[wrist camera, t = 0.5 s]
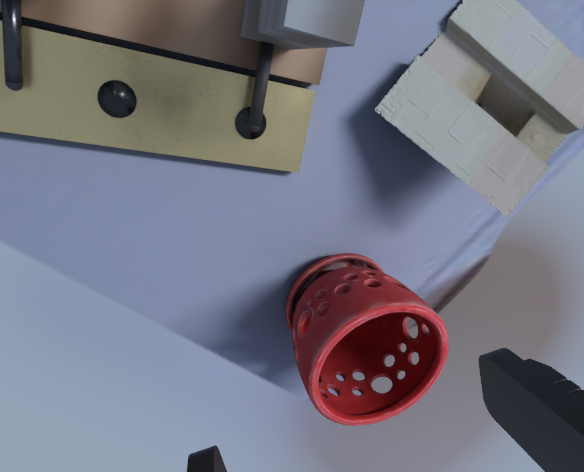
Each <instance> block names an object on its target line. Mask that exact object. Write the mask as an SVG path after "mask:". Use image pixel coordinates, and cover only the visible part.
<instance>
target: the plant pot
mask: <svg viewBox="0 0 584 472" xmlns="http://www.w3.org/2000/svg"><path fill="white" fill-rule="evenodd" d="M408 317H410V318H412V319H414V320H415V321H416V323H417V325H418V336H417V337H416V338H412V337H411V336H410V335H409V334H408V332H407V327H406V321H407V318H408ZM286 320H287V324H288V327H289V329H290V331H291V332H292V340H293V348H294V354H295V358H296V362H297V366H298V370H299V373H300V376H301V379H302V381H303V384H304V386H305V389H306V391H307V393H308V395H309V397H310V400H311V401H312V403H313V405H314V406H315V408H316V409H317V410H318V411H319V412H320V413H321V414H322V415H323V416H325V417H326V418H327V419H329V420H332V421H334V422H336V423H340V424H343V425H352V426H353V425H354V426H355V425H368V424H373V423H377V422H380V421H383V420H386V419H388V418H391V417H393V416H396V415H397V414H399V413H401V412H402V411H404V410H406V409H407V408H409V407H410V406H412V405H413V404H414V403H416V402H417V401H418V400H419V399H420V398H421V397H422V396H423V395H424V394H425V393H426V392H427V391H428V390H429V389H430V388H431V386H432V385H433V384H434V382H435V381H436V380H437V378H438V377H439V375H440V373H441V372H442V370H443V367H444V365H445V362H446V359H447V354H448V335H447V331H446V327H445V325H444V323H443V322H442V320H441V318H440V317H439V316H438V315H437V314H436V313H435V311H434V310H433V309H432V308H431V307H430V306H429V305H428V304H426V303H425V302H424V301H423V300H422V299H421V298H420V297H419V296H417V295H416V294H415V293H414V292H413V291H411V290H410V289H409V288H407V287H406V286H405V285H403V284H402V283H401V282H399V281H398V280H396V279H394V278H392V277H391V276H389V275H387V274H385V273H384V272H383V271H382V269H381V268H380V267H379V266H378V265H377V264H376V263H375V262H374V261H372V260H371V259H369V258H367V257H364V256H362V255H357V254H350V253H344V254H336V255H332V256H329V257H326V258H324V259H321V260H319V261H317V262H316V263H314V264H313V265H311V266H310V267H309V268H308V269H306V270H305V271H304V272H303V273H302V274H301V275H300V276H299V278H298V279H297V280H296V282H295V283H294V285H293V287H292V289H291V291H290V293H289V295H288V299H287V303H286ZM426 326H427V327H428V329H429V332H428V331H427V329H426ZM402 343H404V344H405V345H406V347H407V349H406V351H405V352H404V353H403V352H402V351H401V349H400V347H401V344H402ZM414 352H417V353H418V355H419V362H418V363H417V364H416V365H413V364H412V361H411V357H412V354H413V353H414ZM389 355H393V356H394V358H395V362H394V365H392V366H391V367H387V366H385V363H384V361H385V358H386V357H387V356H389ZM400 371H405V373H406V375H405V377H404V378H403V379H401V380H399V379H398V377H397V376H398V373H399V372H400ZM354 372H361V373H363V374H364V376H365V379H364V380H361V381H358V380H355V379H354V378H353V376H352V374H353V373H354ZM336 375H341V376H342V377H343V378H344V381H339V380H338V379H337V378H336ZM378 377H387V378H389V379H390V380H391V381H392V383H393V386H392V388H391V389H390V391H388V392H387V393H383V394H381V393H378V392H376V391H374V390H373V389H372V387H371V383H372V381H373V380H374V379H376V378H378ZM327 388H330V389H333V390H334V391H336V392H337V394H338V396H336V395H333V394H331V393H330V392H329V391H328V389H327ZM353 390H358V391H360V392H361V393H362V395H360V396H356V395H354V394H353V393H352V391H353Z"/></svg>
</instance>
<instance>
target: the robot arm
mask: <svg viewBox="0 0 584 472" xmlns="http://www.w3.org/2000/svg"><path fill="white" fill-rule="evenodd" d="M479 368H480V376H481V384H482V392H483V399H484V402H485V405H486V407H487V409H488V411H489V413H490V414H491V416H492V417H493V418H494V419H495V421H496V422H497V423H498V424H499V425H500V426H501V427H502V428H503V429H504V430H505V431H506V432H507V433H508V434H509V435H510V436H511V437H512V438H513V439H514V440H515V441H516V442H517V443H518V444H519V445H520V446H521V447H522V448H523V449H524V450H525V451H526V452H527V453H528V455H529V456H531V458H532V459H533V460H534V461H535V462H536V463H537V464H538V465H539V466H540V467H541V468H542V469H543V470H544V471H545V472H584V390H581V388H580V387H579V386H577V385H576V384H575V383H573V382H572V381H570V380H569V381H568V380H567V378H566V377H565V376H563V375H562V374H560V373H559V372H557V371H556V370H554V369H553V368H552V367H550V366H548V365H545V364H542V363H540V362H537V361H534V360H532V359H527V360H525V361H524V360H522V359H521V358H520V357H518V356H517V355H516V354H514V353H513V352H511V351H510V350H509V349H507V348H501V349H498V350H495V351H492V352H490V353H487V354H484V355H481V356H480V357H479ZM187 472H227V471H226V468H225V465H224V462H223V460H222V457H221V454H220V452H219V449H218V447H217V446H213V447H210V448H207V449H204V450H201V451H198V452H195V453H192V454H190V455H189V458H188V467H187Z"/></svg>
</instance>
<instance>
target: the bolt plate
mask: <svg viewBox="0 0 584 472" xmlns="http://www.w3.org/2000/svg"><path fill="white" fill-rule="evenodd" d="M22 41H23V76H24V86H23V88H22V89H21V90H19V91H13V90H11V89H9V88H8V87H7V86H6V84H5V77H4V54H3V31H2V21H1V20H0V132H7V133H14V134H22V135H29V136H36V137H43V138H51V139H58V140H65V141H72V142H80V143H87V144H94V145H101V146H109V147H116V148H123V149H130V150H138V151H145V152H152V153H159V154H166V155H174V156H181V157H188V158H195V159H203V160H210V161H217V162H224V163H232V164H239V165H246V166H253V167H261V168H268V169H275V170H282V171H290V172H297V173H298V171H299V167H300V162H301V157H302V153H303V148H304V143H305V139H306V134H307V129H308V124H309V120H310V115H311V110H312V106H313V101H314V96H315V92H316V91H313V90H309V89H304V88H300V87H295V86H291V85H286V84H282V83H278V82H273V81H269V80H268V85H267V91H266V97H265V103H264V108H263V114H262V120H261V126H260V129H259V130H258V131H256V132H252V131H250V130H249V128H248V120H249V114H250V108H251V102H252V95H253V89H254V83H255V77H251V76H246V75H242V74H237V73H233V72H229V71H224V70H220V69H215V68H211V67H206V66H202V65H197V64H193V63H188V62H184V61H180V60H175V59H171V58H166V57H162V56H157V55H153V54H148V53H144V52H139V51H135V50H131V49H126V48H122V47H117V46H113V45H108V44H104V43H99V42H95V41H90V40H86V39H82V38H77V37H73V36H68V35H64V34H59V33H55V32H50V31H46V30H41V29H37V28H33V27H28V26H24V25H22Z"/></svg>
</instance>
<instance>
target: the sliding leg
mask: <svg viewBox="0 0 584 472" xmlns="http://www.w3.org/2000/svg"><path fill="white" fill-rule="evenodd" d="M1 8H2V31H3V54H4V77H5V84H6V86H7V87H8V88H9V89H11V90H13V91H19V90H21V89H22V88H23V86H24V76H23V41H22V5H21V0H1Z"/></svg>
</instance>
